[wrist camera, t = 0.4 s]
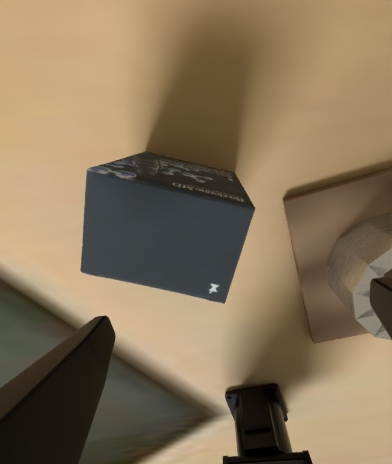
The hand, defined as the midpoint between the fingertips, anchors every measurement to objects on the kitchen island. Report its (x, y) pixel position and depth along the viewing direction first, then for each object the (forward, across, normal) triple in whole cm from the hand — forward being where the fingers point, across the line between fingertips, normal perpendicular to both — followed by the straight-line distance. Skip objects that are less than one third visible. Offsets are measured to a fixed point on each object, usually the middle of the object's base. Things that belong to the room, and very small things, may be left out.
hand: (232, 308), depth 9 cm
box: (+14, +3, -1) cm, 15 cm away
